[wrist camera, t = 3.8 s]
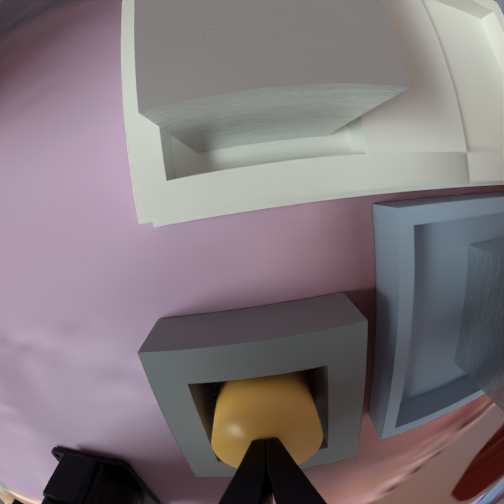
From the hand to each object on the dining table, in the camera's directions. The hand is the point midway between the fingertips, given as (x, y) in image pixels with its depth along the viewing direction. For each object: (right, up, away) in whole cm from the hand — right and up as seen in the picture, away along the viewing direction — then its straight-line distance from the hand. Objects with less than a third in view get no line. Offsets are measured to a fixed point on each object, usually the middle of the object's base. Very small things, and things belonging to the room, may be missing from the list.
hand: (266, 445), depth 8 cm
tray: (+11, +4, +3) cm, 12 cm away
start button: (0, +1, +3) cm, 3 cm away
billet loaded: (-1, +12, 0) cm, 12 cm away
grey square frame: (0, +1, +3) cm, 4 cm away
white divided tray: (+4, +13, +1) cm, 14 cm away
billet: (+11, +4, +3) cm, 12 cm away
